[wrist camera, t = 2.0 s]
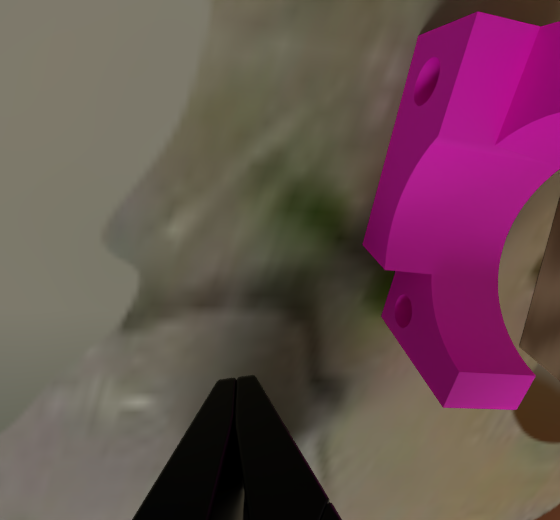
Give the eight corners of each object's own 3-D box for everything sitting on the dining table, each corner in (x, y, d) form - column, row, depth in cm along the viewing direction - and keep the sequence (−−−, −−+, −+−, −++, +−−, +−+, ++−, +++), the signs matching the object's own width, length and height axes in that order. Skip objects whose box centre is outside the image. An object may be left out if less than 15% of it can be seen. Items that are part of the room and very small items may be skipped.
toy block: (416, 36, 16) (550, -19, 9) (532, 62, 17) (733, 30, 10) (343, 311, 22) (390, 405, 15) (432, 318, 23) (516, 409, 16)
